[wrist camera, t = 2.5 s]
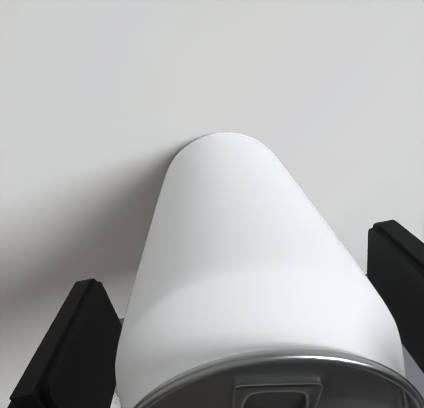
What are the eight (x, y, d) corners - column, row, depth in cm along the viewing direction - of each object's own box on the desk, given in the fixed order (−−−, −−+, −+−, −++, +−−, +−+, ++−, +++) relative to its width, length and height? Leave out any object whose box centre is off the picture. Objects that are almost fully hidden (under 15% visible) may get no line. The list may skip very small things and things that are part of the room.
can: (167, 239, 17) (115, 536, 7) (160, 129, 14) (47, 340, 4) (275, 238, 18) (394, 522, 7) (290, 130, 15) (534, 329, 4)
